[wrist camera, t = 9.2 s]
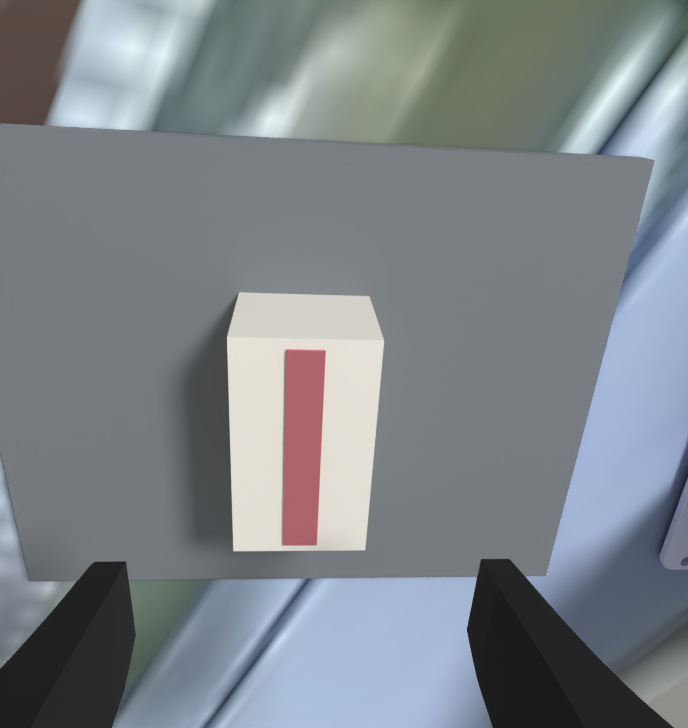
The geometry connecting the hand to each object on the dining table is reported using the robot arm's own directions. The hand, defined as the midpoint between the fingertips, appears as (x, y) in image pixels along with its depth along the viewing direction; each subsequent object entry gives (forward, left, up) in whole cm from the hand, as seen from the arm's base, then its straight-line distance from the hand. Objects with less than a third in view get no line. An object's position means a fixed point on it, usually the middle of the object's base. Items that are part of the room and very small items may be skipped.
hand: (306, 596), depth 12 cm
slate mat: (0, 0, -9) cm, 9 cm away
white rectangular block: (0, 0, -8) cm, 9 cm away
